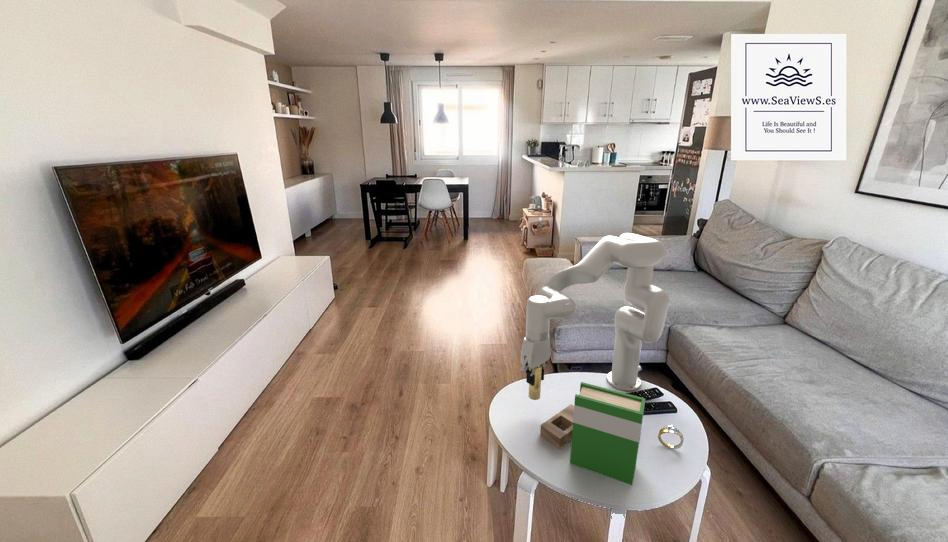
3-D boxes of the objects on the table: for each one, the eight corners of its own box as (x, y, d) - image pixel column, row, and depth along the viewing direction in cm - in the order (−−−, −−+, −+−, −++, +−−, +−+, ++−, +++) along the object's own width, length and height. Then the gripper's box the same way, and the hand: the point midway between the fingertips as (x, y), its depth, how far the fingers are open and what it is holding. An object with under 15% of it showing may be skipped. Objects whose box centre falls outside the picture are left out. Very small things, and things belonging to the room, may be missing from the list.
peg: (533, 391, 140) (535, 361, 136) (542, 396, 137) (544, 366, 133) (526, 395, 137) (527, 365, 133) (534, 401, 134) (536, 370, 131)
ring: (681, 449, 123) (686, 428, 121) (680, 455, 121) (684, 434, 118) (657, 440, 127) (661, 419, 124) (655, 446, 125) (659, 425, 122)
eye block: (570, 413, 140) (571, 404, 139) (589, 425, 134) (590, 415, 133) (540, 434, 130) (540, 425, 129) (559, 448, 124) (560, 438, 123)
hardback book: (569, 463, 119) (575, 396, 111) (575, 446, 125) (581, 381, 117) (632, 485, 111) (642, 414, 103) (635, 466, 117) (645, 398, 110)
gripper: (545, 321, 137) (542, 367, 143) (510, 336, 127) (509, 385, 133) (562, 329, 131) (559, 376, 137) (528, 345, 121) (526, 396, 127)
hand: (535, 380), depth 135 cm, fingers closed on peg, 4 cm apart
